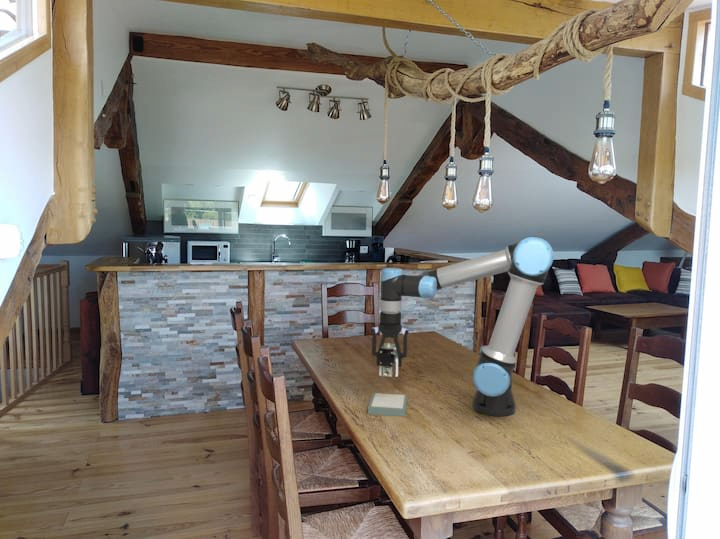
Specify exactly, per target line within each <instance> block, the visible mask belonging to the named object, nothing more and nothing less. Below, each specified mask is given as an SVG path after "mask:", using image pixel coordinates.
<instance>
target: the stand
mask: <svg viewBox="0 0 720 539" xmlns="http://www.w3.org/2000/svg"><path fill="white" fill-rule="evenodd" d="M408 397H409V396H408V394H399V393H398V394H396V393H381V392H380V393H379V392H373V393H372V395H371V398H370V401H369V404H368V407H367V414H368V415H376V416H390V417H404V418H405V417H406V413H407V406H408Z"/></svg>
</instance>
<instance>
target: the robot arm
mask: <svg viewBox="0 0 720 539" xmlns="http://www.w3.org/2000/svg"><path fill="white" fill-rule="evenodd" d="M554 258H555V257H554V249H553V248H552V246H551V244H550V242H548V241H547V240H546V239H545V238H543V237H540V236H535V235H534V236H529V237H526V238H524V239H522V240H520V241H518V242H516V243H513V244H509V245H507V246H506V247H505V248H504V249H503V250H499V251H495V252H491V253H488V254H485V255H480V256H478V257H474V258H471V259H467V260H464V261H463V260H462V261H461V262H455V263H453V264H450V265H449V264H448V265H446V266H442V267H438V268H435V269H431V270H426V271H423V272H422V273H420V274H416V275H415V274H414V275H412V274H411V275H410V274H403V269H402V268H399V267H398V268H397V267H386V268H383V269H382V270H381V274H380V275H381V277H380V300H379V301H380V303H379V304H380V305H379V306H380V307H379V309H380V312H379V325H378V326H375V327H373V326H372V327H371V330H370V331H371V333H372V338H371V339H372V341H371V343H372V344H371V355H372V356H375V357H376V366H377V367H379V368H378V369H379V372H378V373H379V374H378V375H379V376H381V377H382V374H383V369H382V368H383V366H380V348H381V347H383V345H384V343H386V342H385V341H386V338H392V339H393V341H394V342H393V343H395V346H396V350H397V354H398V357H397V358H396V362H395V377H399V368H402V364H403V363H402V362H403V358H406V357H407V355H408V335H409V332H410V329H409V328H404V327H403V325H402V313H401V311H402V301H403V300H402V299H403V298H402V297H411V298H412V297H413V298H414V297H415V298H422V299H426V298H427V299H433V298H434V297H436V293H437V291H440V290H442V289H446V288H450V287H453V286H457V285H460V284H464V283H468V282H473V281H476V280H479V279H484V278H486V277H491V276H494V275H498V274H502V273H508V276H509V277H510V280H509V283H508V286H507V290H506V292H505V295H504V298H503V300H502V304H501V307H500V310H499V313H498V316H497V320H496V321H495V325H494V328H493V331H492V335H491V337H490V340H489V343H488V345H482V346H480V348H479V352H478V354H479V356H478V357H479V358H478V361H477V364H476V368H475V369H474V370H473V373H472V380H473V381H472V382H473V385H474V386H475V388H476V392H475V394H474V396H473V399H472V409H473V410H474V411H476V412H478V413H481V414H483V415H487V416H493V417H508V416H512V415H514V414H515V413H516V406H517V405H516V402H515V398H514V394H513V391H512V383H513V382H512V381H513V372H514V369H515V367H516V363H517V359H516V357H515V352H516V349H517V347H518V345H519V344H518V343H519V341H520V338H521V335H522V332H523V330H524V326H525V323H526V321H527V318H528V316H529V312H530V308H532V303H533V300H534V298H535V295H536V292H537V289H538V287H540V286H542V285H544V283H545V281H546V279H547V276H548V272H549V271H550V270H549V269H550V267H552V264H553V262H554ZM379 332H380V333H381V334H382V337H381V341H380V343H379V347H378V350H377V335H378V334H377V333H379ZM400 332H402V335H403V344H402V345H403V350H402V349H401V346H400V342H399V337H398V335H399V334H400ZM402 351H403V353H402Z"/></svg>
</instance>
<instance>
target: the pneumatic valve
mask: <svg viewBox="0 0 720 539" xmlns="http://www.w3.org/2000/svg"><path fill="white" fill-rule="evenodd" d="M397 357H398V354H397V350H396V346H395V342H384V345H383V347H381V348H380V366H382V375H381V377H389V378H392V377H393V375H394V372H393V371H394V370H393V368H394V365H396V358H397ZM380 366H379V367H380Z"/></svg>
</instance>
